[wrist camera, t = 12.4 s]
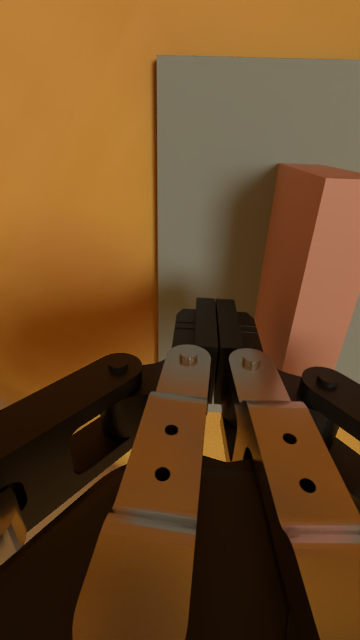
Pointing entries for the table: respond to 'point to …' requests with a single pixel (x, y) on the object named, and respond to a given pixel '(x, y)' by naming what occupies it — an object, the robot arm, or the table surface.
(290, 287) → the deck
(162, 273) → the mat
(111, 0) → the table surface
